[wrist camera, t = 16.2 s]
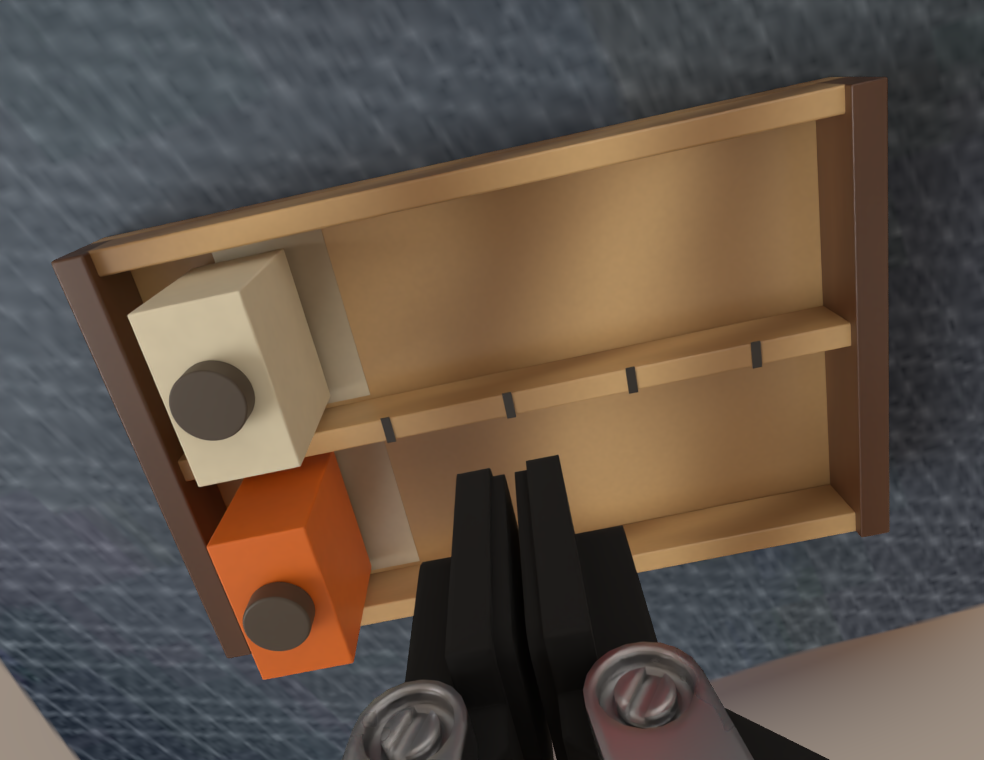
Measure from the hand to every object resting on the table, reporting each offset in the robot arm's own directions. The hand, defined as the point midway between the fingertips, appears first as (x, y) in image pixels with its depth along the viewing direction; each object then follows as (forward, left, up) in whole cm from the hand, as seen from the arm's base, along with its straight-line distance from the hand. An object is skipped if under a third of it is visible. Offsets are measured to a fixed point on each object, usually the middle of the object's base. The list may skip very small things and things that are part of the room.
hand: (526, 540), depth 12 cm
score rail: (0, +3, -15) cm, 15 cm away
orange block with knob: (+8, +6, -13) cm, 17 cm away
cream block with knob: (+8, -1, -13) cm, 15 cm away
